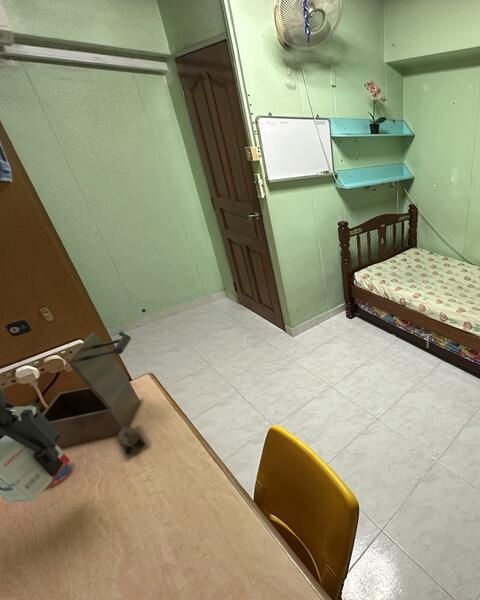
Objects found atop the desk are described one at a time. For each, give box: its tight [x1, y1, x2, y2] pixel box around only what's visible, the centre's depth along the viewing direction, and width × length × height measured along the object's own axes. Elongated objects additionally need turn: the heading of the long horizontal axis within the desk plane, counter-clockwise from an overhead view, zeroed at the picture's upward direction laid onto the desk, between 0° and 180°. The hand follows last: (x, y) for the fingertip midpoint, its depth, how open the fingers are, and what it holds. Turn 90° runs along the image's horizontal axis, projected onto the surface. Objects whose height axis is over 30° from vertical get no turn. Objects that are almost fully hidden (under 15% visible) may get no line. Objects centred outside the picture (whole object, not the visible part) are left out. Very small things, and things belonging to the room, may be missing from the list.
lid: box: [66, 331, 132, 410], centre depth 85 cm, size 17×13×9 cm
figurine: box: [117, 426, 149, 460], centre depth 83 cm, size 14×4×9 cm, turn 51°
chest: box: [41, 379, 141, 449], centre depth 89 cm, size 17×13×10 cm
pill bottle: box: [46, 464, 71, 488], centre depth 75 cm, size 6×5×10 cm
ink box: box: [0, 436, 70, 504], centre depth 60 cm, size 9×5×12 cm, turn 2°
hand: (35, 475), depth 62 cm, fingers closed on ink box, 6 cm apart
